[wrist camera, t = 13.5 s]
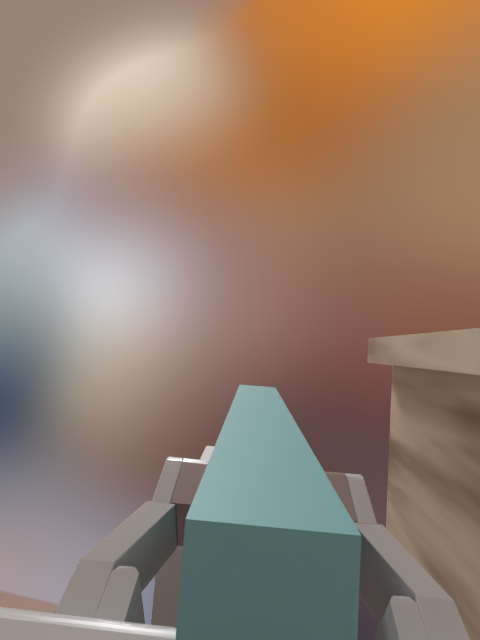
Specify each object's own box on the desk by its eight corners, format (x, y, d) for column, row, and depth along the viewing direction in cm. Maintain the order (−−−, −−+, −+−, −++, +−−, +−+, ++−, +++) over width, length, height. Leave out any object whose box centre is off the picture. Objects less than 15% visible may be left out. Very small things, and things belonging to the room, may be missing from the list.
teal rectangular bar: (272, 423, 30) (275, 387, 30) (353, 729, 6) (361, 535, 6) (237, 420, 30) (239, 384, 30) (169, 707, 6) (185, 519, 6)
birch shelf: (457, 680, 27) (465, 345, 30) (699, 1073, 13) (681, 341, 15) (353, 667, 28) (368, 338, 30) (468, 1036, 13) (482, 328, 15)
